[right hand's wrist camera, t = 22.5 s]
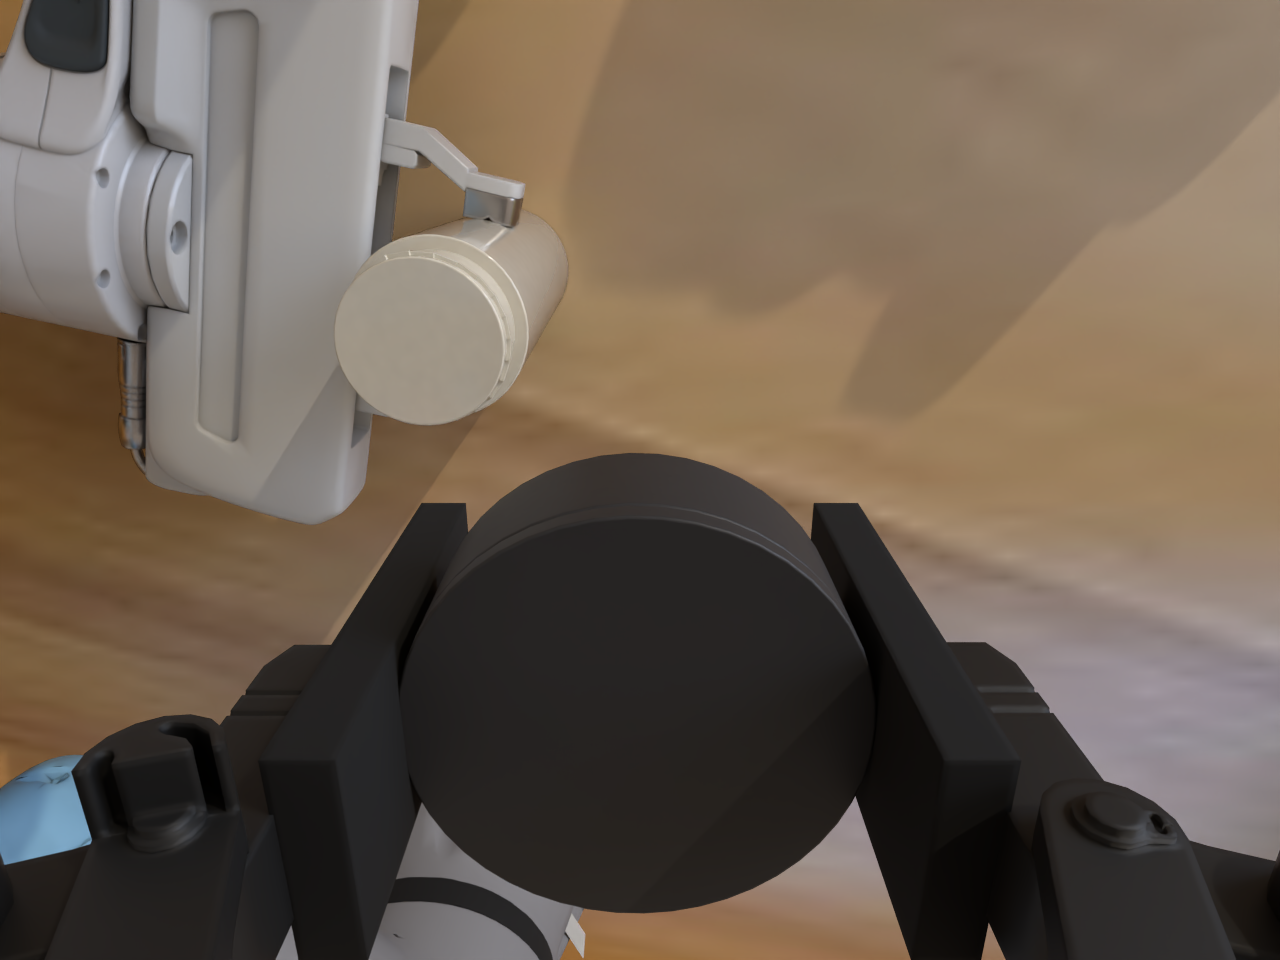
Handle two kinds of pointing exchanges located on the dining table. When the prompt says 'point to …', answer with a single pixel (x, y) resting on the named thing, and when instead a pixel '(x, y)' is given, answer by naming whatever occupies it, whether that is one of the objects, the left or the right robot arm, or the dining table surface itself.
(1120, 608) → the dining table surface
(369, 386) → the jar
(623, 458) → the lid
